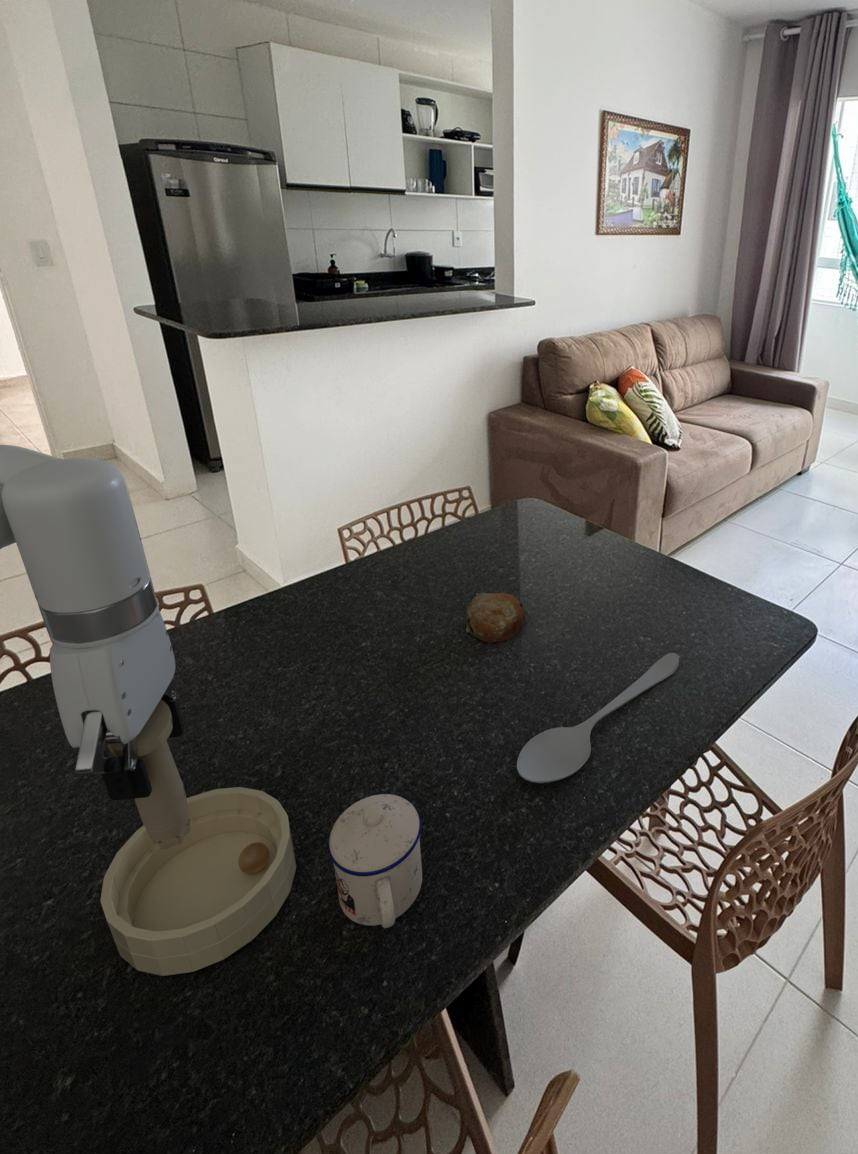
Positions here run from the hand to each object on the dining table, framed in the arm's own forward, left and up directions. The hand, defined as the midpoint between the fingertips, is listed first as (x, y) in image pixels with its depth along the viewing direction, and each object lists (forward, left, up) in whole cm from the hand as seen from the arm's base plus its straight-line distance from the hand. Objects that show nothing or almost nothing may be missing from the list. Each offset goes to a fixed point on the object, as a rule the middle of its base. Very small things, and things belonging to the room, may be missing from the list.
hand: (149, 763), depth 62 cm
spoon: (+49, +20, -19) cm, 56 cm away
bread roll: (+33, +44, -19) cm, 58 cm away
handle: (0, 0, -10) cm, 10 cm away
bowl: (+2, 0, -19) cm, 19 cm away
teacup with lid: (+20, -3, -19) cm, 28 cm away
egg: (+6, +2, -17) cm, 18 cm away
